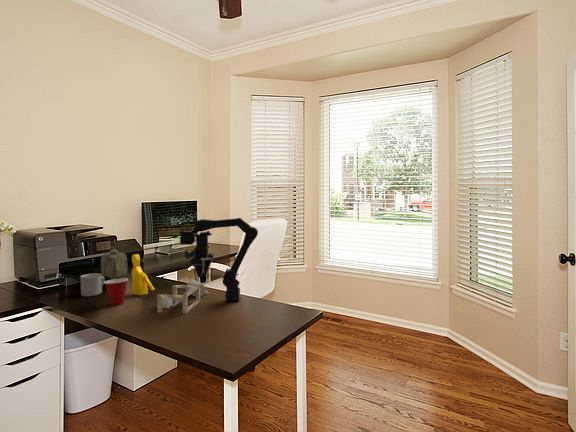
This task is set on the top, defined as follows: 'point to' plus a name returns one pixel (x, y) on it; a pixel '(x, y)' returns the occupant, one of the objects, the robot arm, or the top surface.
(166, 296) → the birch frame
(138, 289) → the figure statuette
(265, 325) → the top surface
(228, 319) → the top surface
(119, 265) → the tabletop clock
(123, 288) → the plastic cup
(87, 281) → the coffee mug
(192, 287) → the flap
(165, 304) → the steel cube
